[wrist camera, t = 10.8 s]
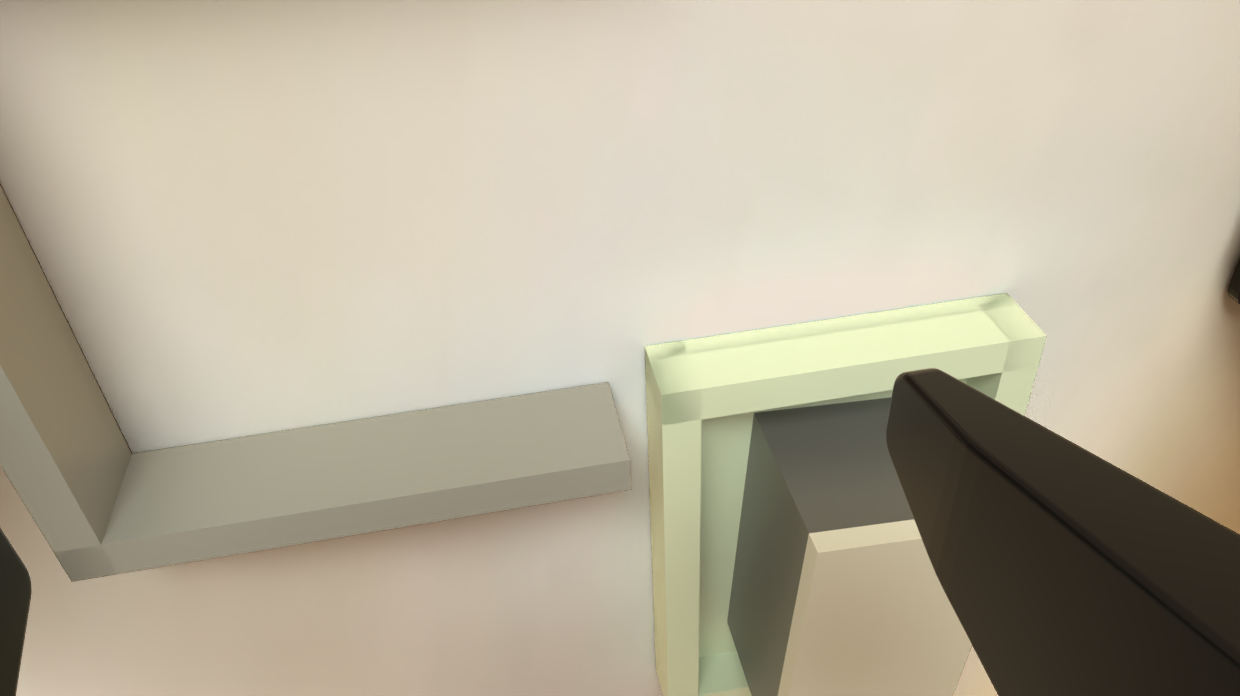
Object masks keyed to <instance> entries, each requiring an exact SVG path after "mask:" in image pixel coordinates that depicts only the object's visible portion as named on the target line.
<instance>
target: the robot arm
mask: <svg viewBox="0 0 1240 696" xmlns="http://www.w3.org/2000/svg"><path fill="white" fill-rule="evenodd" d="M1228 294H1229V296H1230V297H1231V298H1232V299H1234V300H1235V301H1236V302H1237V303H1239V304H1240V261H1239V263H1238V266H1237V268H1236V271H1235V273H1234V275H1233V278H1232V280H1231V283H1230V285H1229V289H1228ZM886 443H887V448H888V452H889V455H890V457H891V460H892V463H893V465H894V468H895V470H896V473H897V476H898V478H899V481H900V484H901V486H902V489H903V491H904V494H905V497H906V499H907V502H908V504H909V507H910V510H911V512H912V515H913V518H914V520H915V523H916V525H917V528H918V531H919V533H920V536H921V538H922V541H923V544H924V546H925V549H926V551H927V554H928V557H929V559H930V561H931V564H932V566H933V569H934V571H935V573H936V575H937V578H938V580H939V582H940V584H941V586H942V588H943V590H944V592H945V594H946V596H947V598H948V600H949V602H950V604H951V605H952V607H953V609H954V611H955V613H956V615H957V617H958V619H959V621H960V623H961V625H962V627H963V628H964V630H965V632H966V634H967V636H968V638H969V640H970V642H971V644H972V646H973V648H974V650H975V651H976V653H977V655H978V657H979V659H980V661H981V663H982V665H983V667H984V669H985V671H986V673H987V674H988V676H989V678H990V680H991V682H992V684H993V686H994V688H995V690H996V692H997V694H998V696H1240V535H1239V534H1238V533H1236V532H1234V531H1232V530H1230V529H1228V528H1227V527H1225V526H1223V525H1221V524H1219V523H1218V522H1216V521H1214V520H1212V519H1210V518H1209V517H1207V516H1205V515H1203V514H1201V513H1199V512H1198V511H1196V510H1194V509H1192V508H1190V507H1189V506H1187V505H1185V504H1183V503H1181V502H1179V501H1178V500H1176V499H1174V498H1172V497H1170V496H1169V495H1167V494H1165V493H1163V492H1161V491H1160V490H1158V489H1156V488H1154V487H1152V486H1150V485H1149V484H1147V483H1145V482H1143V481H1141V480H1140V479H1138V478H1136V477H1134V476H1132V475H1130V474H1129V473H1127V472H1125V471H1123V470H1121V469H1120V468H1118V467H1116V466H1114V465H1112V464H1111V463H1109V462H1107V461H1105V460H1103V459H1101V458H1100V457H1098V456H1096V455H1094V454H1092V453H1091V452H1089V451H1087V450H1085V449H1083V448H1081V447H1080V446H1078V445H1076V444H1074V443H1072V442H1071V441H1069V440H1067V439H1065V438H1063V437H1062V436H1060V435H1058V434H1056V433H1054V432H1052V431H1051V430H1049V429H1047V428H1045V427H1043V426H1042V425H1040V424H1038V423H1036V422H1034V421H1032V420H1031V419H1029V418H1027V417H1025V416H1023V415H1022V414H1020V413H1018V412H1016V411H1014V410H1013V409H1011V408H1009V407H1007V406H1005V405H1003V404H1002V403H1000V402H998V401H996V400H994V399H993V398H991V397H989V396H987V395H985V394H983V393H982V392H980V391H978V390H976V389H974V388H973V387H971V386H969V385H967V384H965V383H964V382H962V381H960V380H958V379H956V378H954V377H953V376H951V375H949V374H947V373H945V372H944V371H941V370H939V369H936V368H927V369H921V370H915V371H908V372H903V373H901V374H900V375H898V376H897V378H896V380H895V382H894V386H893V391H892V397H891V403H890V409H889V414H888V420H887V426H886ZM30 600H31V581H30V577H29V574H28V571H27V569H26V567H25V565H24V564H23V562H22V561H21V559H20V558H19V556H18V555H17V553H16V552H15V550H14V548H13V547H12V545H11V544H10V542H9V541H8V539H7V538H6V536H5V534H4V533H3V531H2V530H1V528H0V696H16V691H17V684H18V678H19V671H20V665H21V658H22V652H23V645H24V639H25V632H26V626H27V619H28V613H29V606H30Z"/></svg>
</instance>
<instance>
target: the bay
mask: <svg viewBox="0 0 1240 696" xmlns="http://www.w3.org/2000/svg"><path fill="white" fill-rule="evenodd" d="M0 465H1V467H2V468H3V470H4V472H5V473H6V475H7V477H8V478H9V480H10V482H11V483H12V485H13V487H14V488H15V490H16V491H17V493H18V495H19V496H20V498H21V500H22V501H23V503H24V505H25V506H26V508H27V509H28V511H29V513H30V514H31V516H32V518H33V519H34V521H35V523H36V524H37V526H38V527H39V529H40V531H41V532H42V534H43V536H44V537H45V539H46V541H47V542H48V544H49V545H50V547H51V549H52V550H53V552H54V554H55V555H56V557H57V559H58V560H59V562H60V564H61V565H62V567H63V568H64V570H65V572H66V573H67V575H68V577H69V578H70V580H71V582H73V581H79V580H85V579H91V578H97V577H103V576H109V575H115V574H121V573H127V572H133V571H139V570H146V569H152V568H158V567H164V566H170V565H176V564H182V563H188V562H194V561H200V560H206V559H212V558H218V557H225V556H231V555H237V554H243V553H249V552H255V551H261V550H267V549H273V548H279V547H285V546H291V545H297V544H304V543H310V542H316V541H322V540H328V539H334V538H340V537H346V536H352V535H358V534H364V533H370V532H377V531H383V530H389V529H395V528H401V527H407V526H413V525H419V524H425V523H431V522H437V521H443V520H449V519H456V518H462V517H468V516H474V515H480V514H486V513H492V512H498V511H504V510H510V509H516V508H522V507H528V506H535V505H541V504H547V503H553V502H559V501H565V500H571V499H577V498H583V497H589V496H595V495H601V494H608V493H614V492H620V491H626V490H632V487H631V468H630V458H629V454H628V450H627V447H626V443H625V440H624V436H623V433H622V429H621V425H620V422H619V418H618V415H617V411H616V407H615V404H614V400H613V397H612V393H611V389H610V386H609V382H605V383H599V384H592V385H585V386H579V387H572V388H565V389H559V390H552V391H546V392H539V393H532V394H526V395H519V396H512V397H506V398H499V399H492V400H486V401H479V402H472V403H466V404H459V405H452V406H446V407H439V408H432V409H426V410H419V411H412V412H406V413H399V414H392V415H386V416H379V417H372V418H366V419H359V420H353V421H346V422H339V423H333V424H326V425H319V426H313V427H306V428H299V429H293V430H286V431H279V432H273V433H266V434H259V435H253V436H246V437H239V438H233V439H226V440H219V441H213V442H206V443H199V444H193V445H186V446H179V447H173V448H166V449H160V450H153V451H146V452H140V453H133V454H132V453H131V451H130V449H129V447H128V445H127V443H126V441H125V439H124V437H123V435H122V433H121V431H120V429H119V427H118V425H117V423H116V421H115V419H114V416H113V414H112V412H111V410H110V408H109V406H108V404H107V402H106V400H105V398H104V396H103V394H102V392H101V390H100V388H99V386H98V384H97V382H96V380H95V378H94V376H93V374H92V371H91V369H90V367H89V365H88V363H87V361H86V359H85V357H84V355H83V353H82V351H81V349H80V347H79V345H78V343H77V341H76V339H75V337H74V335H73V333H72V331H71V329H70V326H69V324H68V322H67V320H66V318H65V316H64V314H63V312H62V310H61V308H60V306H59V304H58V302H57V300H56V298H55V296H54V294H53V292H52V290H51V288H50V286H49V283H48V281H47V279H46V277H45V275H44V273H43V271H42V269H41V267H40V265H39V263H38V261H37V259H36V257H35V255H34V253H33V251H32V249H31V247H30V245H29V243H28V241H27V238H26V236H25V234H24V232H23V230H22V228H21V226H20V224H19V222H18V220H17V218H16V216H15V214H14V212H13V210H12V208H11V206H10V204H9V202H8V200H7V198H6V196H5V193H4V191H3V189H2V187H1V185H0Z"/></svg>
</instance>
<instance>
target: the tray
mask: <svg viewBox="0 0 1240 696" xmlns="http://www.w3.org/2000/svg"><path fill="white" fill-rule="evenodd" d="M1046 338H1047V335H1046V334H1045V333H1044V332H1043V331H1042V330H1041V329H1040V328H1039V327H1038V326H1037V325H1036V324H1035V323H1034V322H1033V320H1032V319H1031V318H1030V317H1029V316H1028V315H1027V314H1026V313H1025V312H1024V311H1023V310H1022V309H1021V308H1020V306H1019V305H1018V304H1017V303H1016V302H1015V301H1014V300H1013V299H1012V298H1011V297H1010V296H1009V295H1008V294H1007V293H1005V294H998V295H991V296H985V297H978V298H971V299H964V300H957V301H950V302H944V303H937V304H930V305H923V306H916V307H909V308H903V309H896V310H889V311H882V312H875V313H868V314H862V315H855V316H848V317H841V318H834V319H827V320H821V321H814V322H807V323H800V324H793V325H786V326H780V327H773V328H766V329H759V330H752V331H745V332H739V333H732V334H725V335H718V336H711V337H704V338H698V339H691V340H684V341H677V342H670V343H663V344H657V345H650V346H645V370H646V399H647V428H648V457H649V486H650V515H651V543H652V572H653V601H654V630H655V659H656V670H657V675H658V679H659V683H660V687H661V691H662V695H663V696H751V692H750V689H749V686H748V683H747V680H746V677H745V674H744V671H743V668H742V665H741V662H740V659H739V656H738V653H737V650H736V647H735V644H734V641H733V638H732V635H731V632H730V629H729V626H728V623H727V619H728V611H729V603H730V595H731V588H732V580H733V572H734V564H735V556H736V549H737V541H738V533H739V525H740V517H741V510H742V502H743V494H744V486H745V478H746V471H747V463H748V455H749V447H750V439H751V432H752V424H753V416H754V413H757V412H766V411H774V410H783V409H792V408H801V407H810V406H819V405H828V404H837V403H846V402H854V401H863V400H872V399H881V398H890V397H892V391H893V386H894V382H895V380H896V378H897V376H898V375H900V374H901V373H903V372H908V371H915V370H921V369H927V368H936V369H939V370H941V371H944V372H945V373H947V374H949V375H951V376H953V377H954V378H956V379H958V380H960V381H962V382H964V383H965V384H967V385H969V386H971V387H973V388H974V389H976V390H978V391H980V392H982V393H983V394H985V395H987V396H989V397H991V398H993V399H994V400H996V401H998V402H1000V403H1002V404H1003V405H1005V406H1007V407H1009V408H1011V409H1013V410H1014V411H1016V412H1018V413H1020V414H1022V415H1023V416H1024V415H1025V411H1026V408H1027V404H1028V401H1029V397H1030V394H1031V390H1032V387H1033V383H1034V380H1035V376H1036V373H1037V369H1038V366H1039V362H1040V359H1041V355H1042V352H1043V348H1044V345H1045V341H1046Z"/></svg>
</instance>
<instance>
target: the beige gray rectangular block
mask: <svg viewBox="0 0 1240 696" xmlns="http://www.w3.org/2000/svg"><path fill="white" fill-rule="evenodd" d="M890 403H891V397H890V398H881V399H872V400H863V401H854V402H846V403H837V404H828V405H819V406H810V407H801V408H792V409H783V410H774V411H766V412H757V413H754V416H753V424H752V432H751V439H750V447H749V455H748V463H747V471H746V478H745V486H744V494H743V502H742V510H741V517H740V525H739V533H738V541H737V549H736V556H735V564H734V572H733V580H732V588H731V595H730V603H729V611H728V619H727V623H728V626H729V629H730V632H731V635H732V638H733V641H734V644H735V647H736V650H737V653H738V656H739V659H740V662H741V665H742V668H743V671H744V674H745V677H746V680H747V683H748V686H749V689H750V692H751V696H953V694H954V691H955V689H956V686H957V684H958V681H959V678H960V676H961V673H962V671H963V668H964V665H965V663H966V660H967V657H968V655H969V652H970V650H971V647H972V644H971V642H970V640H969V638H968V636H967V634H966V632H965V630H964V628H963V627H962V625H961V623H960V621H959V619H958V617H957V615H956V613H955V611H954V609H953V607H952V605H951V604H950V602H949V600H948V598H947V596H946V594H945V592H944V590H943V588H942V586H941V584H940V582H939V580H938V578H937V575H936V573H935V571H934V569H933V566H932V564H931V561H930V559H929V557H928V554H927V551H926V549H925V546H924V544H923V541H922V538H921V536H920V533H919V531H918V528H917V525H916V523H915V520H914V518H913V515H912V512H911V510H910V507H909V504H908V502H907V499H906V497H905V494H904V491H903V489H902V486H901V484H900V481H899V478H898V476H897V473H896V470H895V468H894V465H893V463H892V460H891V457H890V455H889V452H888V448H887V443H886V426H887V420H888V414H889V409H890Z"/></svg>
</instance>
